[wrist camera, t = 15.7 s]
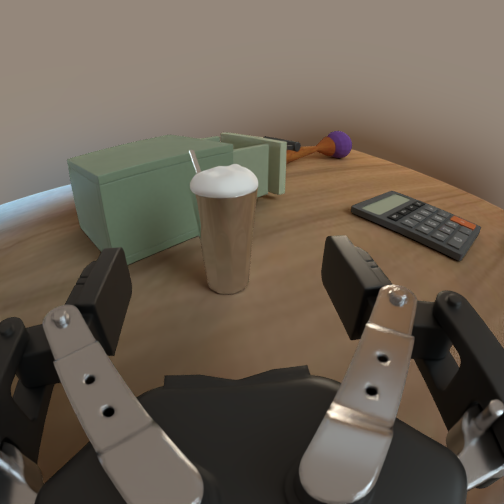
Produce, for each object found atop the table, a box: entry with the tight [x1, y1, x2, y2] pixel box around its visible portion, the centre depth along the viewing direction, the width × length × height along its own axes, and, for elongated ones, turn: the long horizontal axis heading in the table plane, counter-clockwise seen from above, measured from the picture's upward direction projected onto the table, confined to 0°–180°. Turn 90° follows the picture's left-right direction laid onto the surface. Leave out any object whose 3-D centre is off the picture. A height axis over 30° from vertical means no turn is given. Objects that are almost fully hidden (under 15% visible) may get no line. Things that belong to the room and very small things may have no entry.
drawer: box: [203, 132, 301, 197], centre depth 39 cm, size 19×11×7 cm, turn 135°
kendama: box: [286, 131, 352, 163], centre depth 59 cm, size 6×6×20 cm
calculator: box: [351, 191, 481, 261], centre depth 35 cm, size 12×1×15 cm
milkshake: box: [189, 150, 258, 294], centre depth 22 cm, size 4×5×10 cm
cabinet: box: [67, 135, 233, 265], centre depth 32 cm, size 14×13×9 cm
